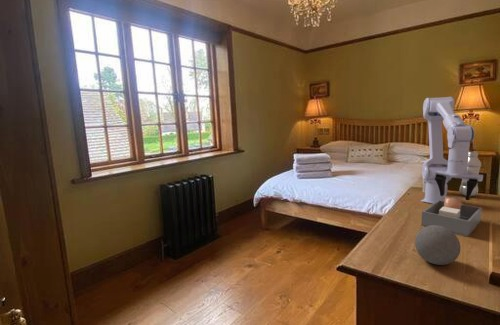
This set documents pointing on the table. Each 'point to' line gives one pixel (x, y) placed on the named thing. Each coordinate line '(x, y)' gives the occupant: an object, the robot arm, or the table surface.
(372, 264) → the table surface
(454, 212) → the cube
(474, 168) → the plastic bottle
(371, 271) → the table surface
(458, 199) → the brown egg
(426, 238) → the decorative ball
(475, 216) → the box
